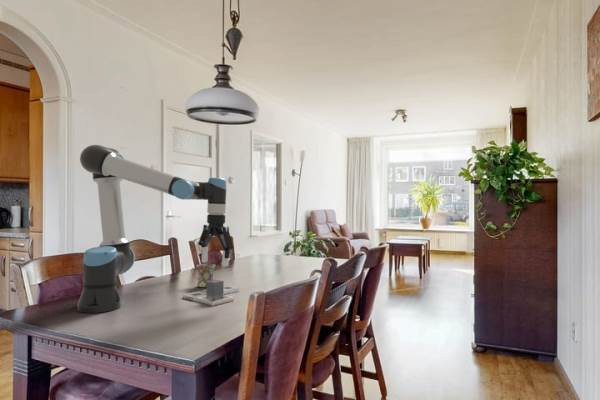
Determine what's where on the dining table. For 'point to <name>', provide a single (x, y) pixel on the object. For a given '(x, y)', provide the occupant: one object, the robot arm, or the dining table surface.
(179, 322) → the dining table surface
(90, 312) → the robot arm
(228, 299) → the tray
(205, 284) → the mug
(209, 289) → the dark grey block
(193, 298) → the rail
